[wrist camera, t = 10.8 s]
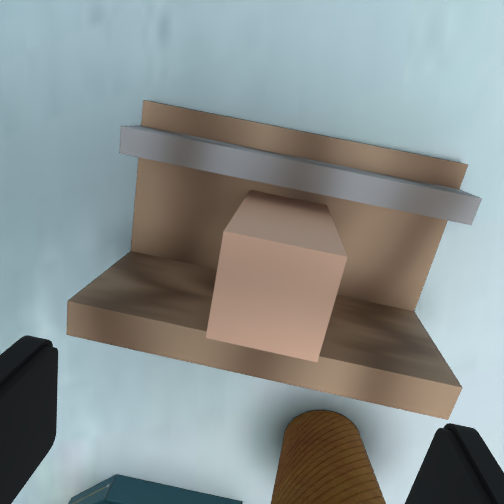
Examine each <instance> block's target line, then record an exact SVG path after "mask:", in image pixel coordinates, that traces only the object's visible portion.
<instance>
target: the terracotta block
mask: <svg viewBox="0 0 504 504" xmlns="http://www.w3.org/2000/svg"><path fill="white" fill-rule="evenodd" d="M346 261H347V254H346V252H345V249H344V247H343V244H342V242H341V239H340V237H339V234H338V232H337V229H336V227H335V224H334V221H333V219H332V216H331V214H330V211H329V209H328V206H327V205H324V204H319V203H314V202H309V201H304V200H299V199H294V198H290V197H285V196H280V195H275V194H270V193H265V192H260V191H255V190H250V191H249V192H248V194H247V196H246V197H245V199H244V200H243V202H242V203H241V205H240V206H239V208H238V209H237V211H236V213H235V214H234V216H233V217H232V219H231V220H230V222H229V223H228V225H227V227H226V228H225V230H224V232H223V238H222V244H221V250H220V256H219V262H218V268H217V274H216V280H215V286H214V292H213V298H212V304H211V309H210V315H209V321H208V327H207V333H206V338H208V339H213V340H217V341H222V342H227V343H231V344H236V345H240V346H245V347H249V348H254V349H258V350H263V351H267V352H272V353H277V354H281V355H286V356H290V357H295V358H299V359H304V360H308V361H313V362H318V358H319V355H320V351H321V348H322V344H323V341H324V337H325V334H326V330H327V327H328V323H329V320H330V316H331V313H332V309H333V306H334V302H335V299H336V295H337V292H338V288H339V285H340V282H341V278H342V275H343V271H344V268H345V264H346Z"/></svg>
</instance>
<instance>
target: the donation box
mask: <svg viewBox="0 0 504 504" xmlns="http://www.w3.org/2000/svg"><path fill="white" fill-rule="evenodd" d="M68 504H242V501H237V500H233V499H228V498H223V497H219V496H214V495H210V494H209V495H208V494H204V493H199V492H195V491H190V490H186V489H182V488H178V487H173V486H167V485H163V484H158V483H153V482H149V481H144V480H141V479H136V478H132V477H127V476H122V475H117V474H116V475H114V476H112V477H111V478H109V479H107V480H105V481H103V482H101V483H99V484H97V485H95V486H93V487H92V488H90V489H88V490H86V491H84V492H82V493H80V494H78V495H76V496H74V497H72V498H71V500H70V502H69V503H68Z"/></svg>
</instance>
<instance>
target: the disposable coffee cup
mask: <svg viewBox="0 0 504 504" xmlns="http://www.w3.org/2000/svg"><path fill="white" fill-rule="evenodd" d="M373 472H374V471H373V468H372V466H371V463H370V461H369V459H368V455H367V453H366V450H365V447H364V445H363V442H362V439H361V437H360V434H359V431H358V429H357V428H356V426H355V425H354V424H353V423H352V422H351V421H350V420H349V419H347V418H346V417H344V416H342V415H340V414H338V413H335V412H332V411H324V410H318V411H310V412H306V413H304V414H301V415H299V416H297V417H296V418H295V419H294V420H292V421H291V422H290V423H289V425H288V426H287V428H286V430H285V433H284V439H283V444H282V449H281V454H280V459H279V464H278V470H277V475H276V480H275V485H274V490H273V495H272V501H271V504H386V502H385V500H384V498H383V497H382V492H381V490H380V489H379V488H380V487H379V484H378V482H377V481H376V480H377V479H376V476H375V474H374V473H373Z"/></svg>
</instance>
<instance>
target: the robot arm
mask: <svg viewBox="0 0 504 504" xmlns="http://www.w3.org/2000/svg"><path fill="white" fill-rule="evenodd" d="M57 377H58V350H57V348H54V347H53V345H52V342H51V341H50V340H47V339H42V338H37V337H32V336H24V337H22V338H20V339H19V340H18V341H17V342H16V343H14V344H13V345H12V346H11V347H9V348H8V349H7V350H6V351H5V352H3V353H2V354H1V355H0V504H11V503H12V502H13V500H14V499H15V498H16V496H17V495H18V494H19V492H20V491H21V489H22V488H23V487H24V485H25V484H26V482H27V481H28V480H29V478H30V477H31V475H32V474H33V473H34V471H35V470H36V468H37V467H38V466H39V464H40V463H41V461H42V460H43V459H44V457H45V456H46V454H47V453H48V452H49V450H50V449H51V447H52V445H53V443H54V440H55V436H56V418H57ZM405 504H504V473H503V471H502V469H501V468H500V466H499V465H498V463H497V461H496V460H495V458H494V457H493V455H492V454H491V452H490V450H489V449H488V447H487V446H486V444H485V442H484V441H483V439H482V438H481V436H480V434H479V433H478V432H477V431H476V430H475V429H473V428H470V427H465V426H460V425H456V424H451V423H450V424H446V425H445V426H444V428H439V429H438V430H437V431H436V433H435V435H434V438H433V440H432V442H431V445H430V447H429V449H428V451H427V454H426V456H425V458H424V461H423V463H422V465H421V468H420V470H419V472H418V474H417V477H416V479H415V481H414V484H413V486H412V488H411V491H410V493H409V495H408V497H407V500H406V502H405Z"/></svg>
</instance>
